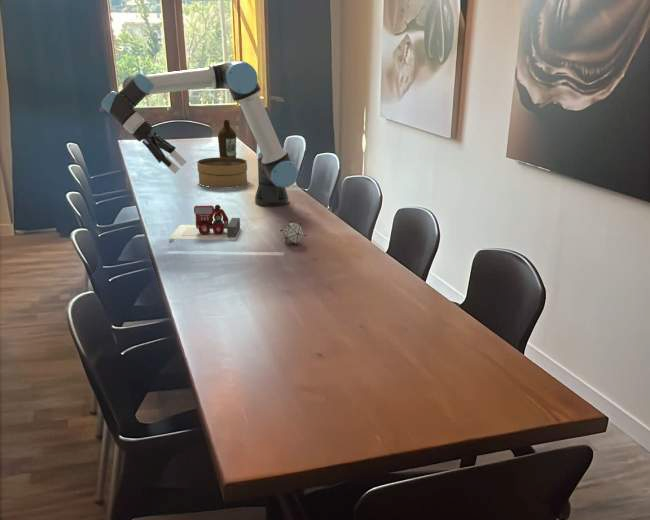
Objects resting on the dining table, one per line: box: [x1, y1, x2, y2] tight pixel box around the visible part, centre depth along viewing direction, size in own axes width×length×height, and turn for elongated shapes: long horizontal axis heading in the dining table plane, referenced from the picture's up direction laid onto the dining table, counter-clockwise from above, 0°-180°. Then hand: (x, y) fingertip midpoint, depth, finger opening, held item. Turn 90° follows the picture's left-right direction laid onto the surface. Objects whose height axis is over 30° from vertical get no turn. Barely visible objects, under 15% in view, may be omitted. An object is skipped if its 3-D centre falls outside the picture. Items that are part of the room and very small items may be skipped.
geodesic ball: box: [279, 220, 307, 247], centre depth 224 cm, size 9×8×10 cm
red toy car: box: [193, 204, 229, 235], centre depth 232 cm, size 7×12×10 cm, turn 100°
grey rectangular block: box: [227, 217, 241, 238], centre depth 233 cm, size 3×12×4 cm, turn 179°
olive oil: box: [217, 118, 237, 158], centre depth 364 cm, size 11×11×25 cm
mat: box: [168, 224, 242, 243], centre depth 234 cm, size 24×18×1 cm
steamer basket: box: [196, 156, 248, 188], centre depth 315 cm, size 25×25×11 cm
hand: (181, 167), depth 240 cm, fingers open, 13 cm apart
